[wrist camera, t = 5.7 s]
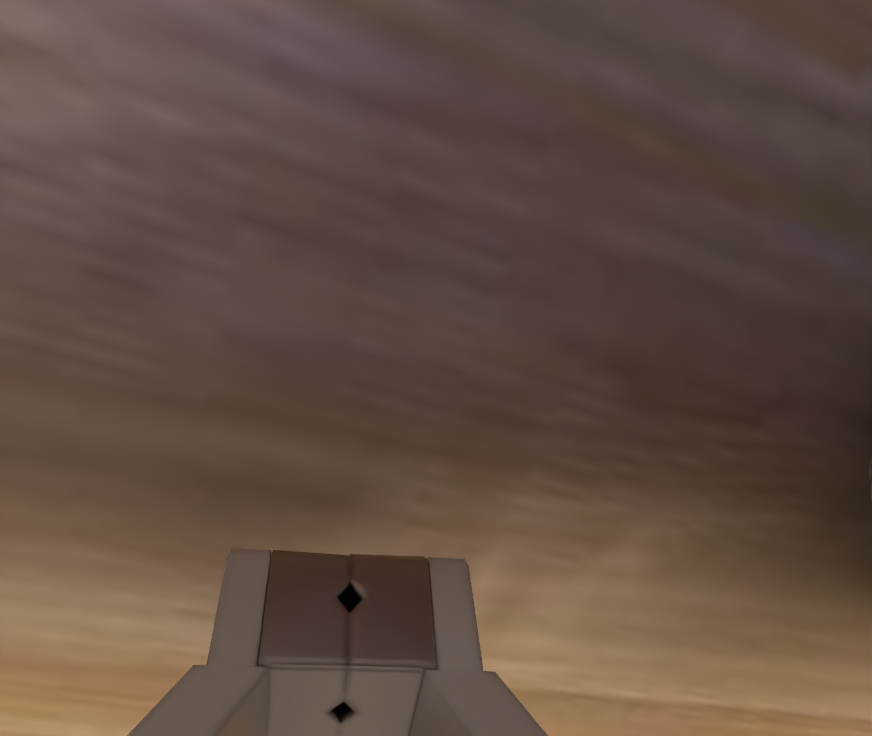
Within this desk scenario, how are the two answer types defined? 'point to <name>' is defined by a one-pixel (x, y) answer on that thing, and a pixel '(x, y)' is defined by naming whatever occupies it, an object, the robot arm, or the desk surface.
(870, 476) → the ribbed grey ovoid
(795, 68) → the desk surface
